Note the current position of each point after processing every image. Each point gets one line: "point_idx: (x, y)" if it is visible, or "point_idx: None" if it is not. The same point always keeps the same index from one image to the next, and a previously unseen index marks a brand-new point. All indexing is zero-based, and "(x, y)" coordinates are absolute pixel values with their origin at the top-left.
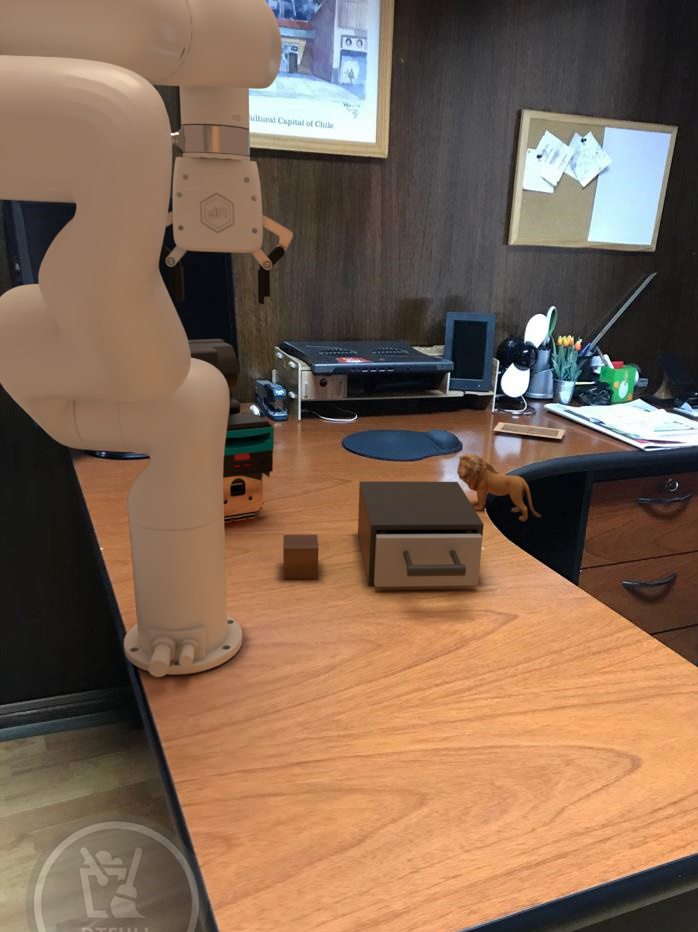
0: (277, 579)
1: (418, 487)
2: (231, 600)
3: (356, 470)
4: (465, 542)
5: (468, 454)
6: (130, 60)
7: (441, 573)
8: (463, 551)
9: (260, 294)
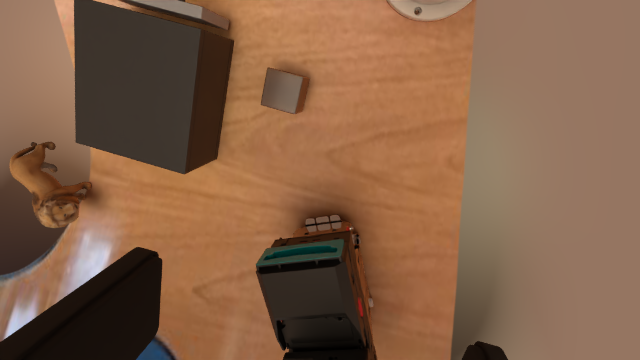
0: (315, 81)
1: (122, 135)
2: (368, 46)
3: (181, 314)
4: None
5: (45, 221)
6: None
7: None
8: None
9: (127, 270)
